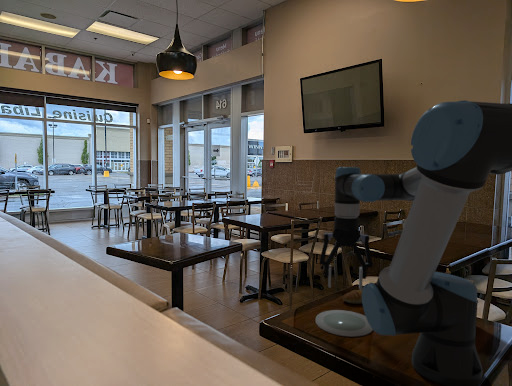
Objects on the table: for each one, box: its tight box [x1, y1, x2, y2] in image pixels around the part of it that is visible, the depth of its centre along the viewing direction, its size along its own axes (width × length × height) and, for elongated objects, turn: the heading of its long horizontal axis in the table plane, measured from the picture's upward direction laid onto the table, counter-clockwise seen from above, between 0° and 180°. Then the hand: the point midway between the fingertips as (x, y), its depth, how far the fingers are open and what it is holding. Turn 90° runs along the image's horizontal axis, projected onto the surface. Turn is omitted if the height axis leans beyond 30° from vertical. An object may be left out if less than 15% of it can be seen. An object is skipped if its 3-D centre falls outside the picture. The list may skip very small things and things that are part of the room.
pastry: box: [342, 289, 363, 304], centre depth 130 cm, size 9×7×4 cm
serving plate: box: [315, 309, 374, 338], centre depth 112 cm, size 18×18×1 cm
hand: (344, 287), depth 111 cm, fingers open, 9 cm apart
